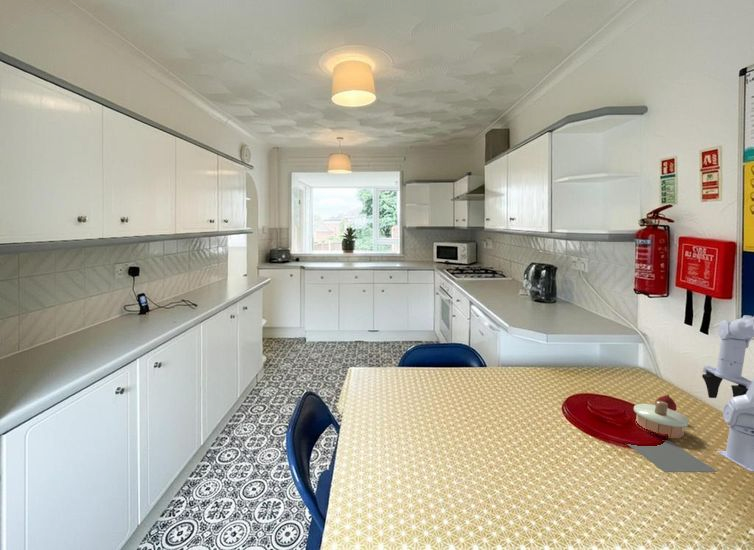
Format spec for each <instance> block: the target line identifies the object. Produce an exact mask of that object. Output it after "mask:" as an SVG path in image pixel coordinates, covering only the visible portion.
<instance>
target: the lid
mask: <svg viewBox="0 0 754 550" xmlns="http://www.w3.org/2000/svg"><path fill="white" fill-rule="evenodd" d="M655 402H656V405H655V404H649V403H637V404H634V406H633V411H634V413H635V414H636V415H637V414H638V415H639V416H641V417H643V418H645V419H647V420H650V421H653V422H656V423H659V424H663V425H667V426H673V427H685V428H686V427H687V426H689V423H690V420H689V419H688V418H687V416H685V415H684V414H682V413H680V412H678V411H677V410H676V411H674V410H671V409H668V408H667V407H668V404H667V403H666V402H663V401H656V400H655Z"/></svg>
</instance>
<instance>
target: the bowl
mask: <svg viewBox="0 0 754 550" xmlns="http://www.w3.org/2000/svg"><path fill="white" fill-rule="evenodd" d="M635 418H636V419H635V422H636V421H637V423H638V424H639V425H640V426H642V427H643V428H645V429H648V430H651V431H653V432H656V433H661V434H668V436H669V437H668V439H681V438H683V437H684V435H685V429H686V426H685V427H673V426H667V425H663V424H659V423H656V422H653V421H650V420H647V419H645V418H643V417H641V416H639V415H638V414H637V413H636V417H635ZM637 423H636V424H637Z"/></svg>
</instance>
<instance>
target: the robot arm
mask: <svg viewBox="0 0 754 550" xmlns="http://www.w3.org/2000/svg"><path fill="white" fill-rule="evenodd" d="M718 326H719V327H718V335H719V338H720V346H719V353H718V358H717V363H716V364H717V366H716V368H715V367H712V366H709V365H704V366H703V368H702V369H703V370H702V372H703V373H702V376H701V377H702V379H703V380H704V383H705V385H706V390H707V395H708V398H709V399H716V398H717V397H718V394H719V393H718V392H719V389H720V385H721V383H722V381H723V380H726V381H729V382H731V383H734V384H733V385H732V384H731V386H730V387H731V390H732V397H731V398H730V400H729V401H728V402H727V403H726V404H724V406H723V410H722V415H723V420H724V421H725V423H726V424H727V425H728V426H729V430H728V436H727V441H726V448H725V450H716V453H718V454H720V455H721V456H723V457H725V458H726V459H728V460H730V461H732V462H734V463H736V464H737V465H739V466H741V467H742V468H744V469H745V470H747V471H749V472H752V473H753V472H754V378H753V380H749V379H748V378H746V377H744V376H742V373H743V367H744V362H745V356H746V351H747V349H748V348H749V345H750V342H751V340H752V338H754V316H752V315H747V314H745V315H743V316H742V317H741V318H737V319H735V320H733V321H732V320H731V321H730V320H725V319H723V320H722V321H721V322H720V324H719V325H718ZM704 373H705V374H704Z"/></svg>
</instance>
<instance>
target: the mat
mask: <svg viewBox="0 0 754 550" xmlns="http://www.w3.org/2000/svg"><path fill="white" fill-rule="evenodd" d="M664 441H665V442H664V443H663V444H661V445H657V446H637V445H631V444H626V445H628V446H629V447H630V448H631V449H632V450H634V451H635V452H636V453H638V454H640V455H641V456H642V457H644V458H645V459H646V460H648V461H649V462H650V463H651V464H653V465H655V466H656V468H658V469H660V470H661V471H662V472H664V473H717V472H718V470H717V469H714V468H713V467H712V466H710V465H708V464H706V463H705V462H704V461H702V460H700V459H699V458H697V457H696V456H694V455H692V454H691V453H690V452H687V451H686V450H684V449H683V448H682V447H680V446H678V445H676V444H675V443H674V442H671V441H670V440H664Z"/></svg>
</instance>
